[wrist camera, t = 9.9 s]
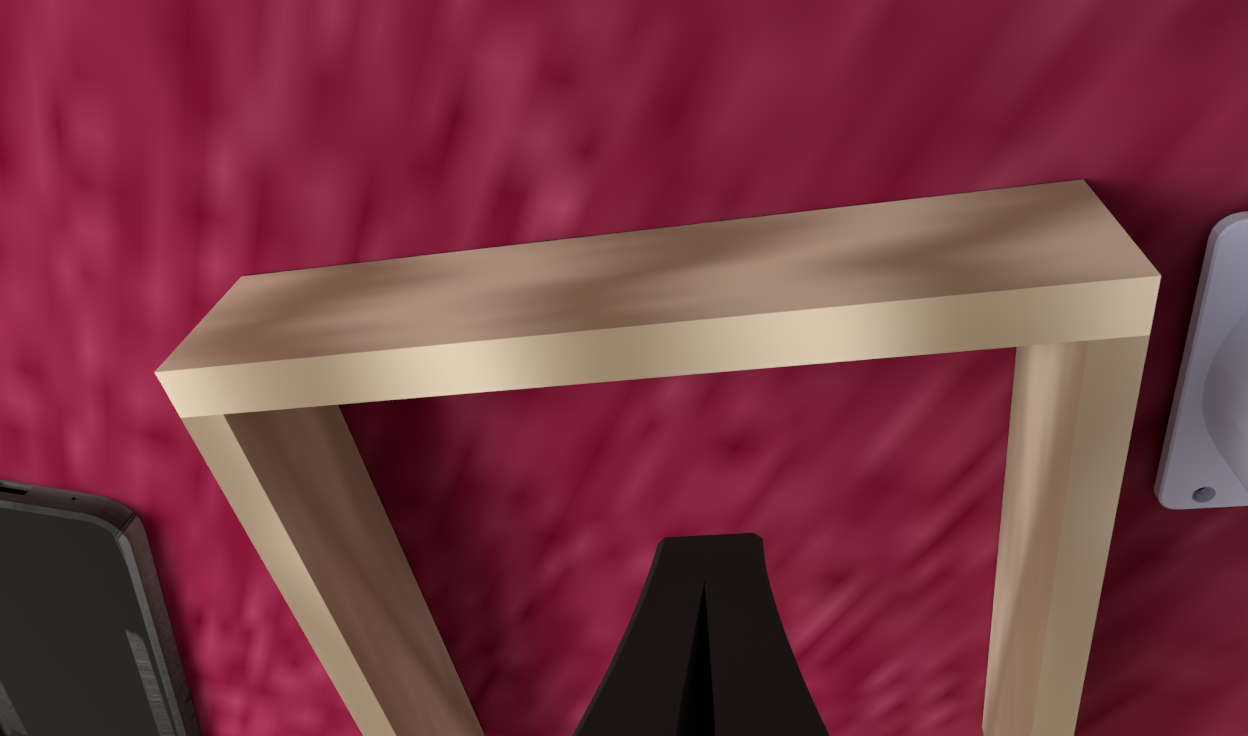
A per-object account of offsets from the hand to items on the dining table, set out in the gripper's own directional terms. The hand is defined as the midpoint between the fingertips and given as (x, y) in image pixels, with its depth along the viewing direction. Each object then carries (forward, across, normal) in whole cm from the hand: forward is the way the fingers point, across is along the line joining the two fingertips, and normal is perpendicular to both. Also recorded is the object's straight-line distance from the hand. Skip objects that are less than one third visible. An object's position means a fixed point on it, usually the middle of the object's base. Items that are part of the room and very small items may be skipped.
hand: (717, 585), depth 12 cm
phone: (+10, +24, +12) cm, 29 cm away
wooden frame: (+9, +2, +8) cm, 13 cm away
